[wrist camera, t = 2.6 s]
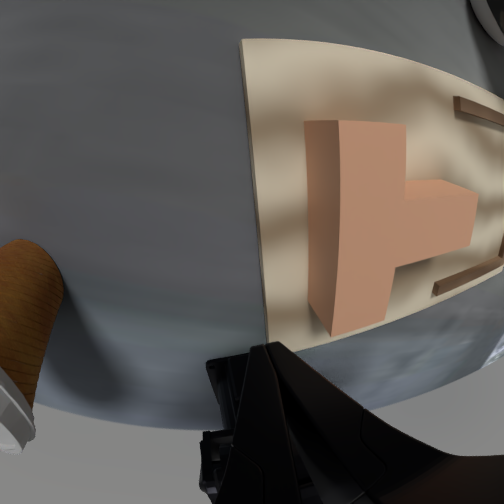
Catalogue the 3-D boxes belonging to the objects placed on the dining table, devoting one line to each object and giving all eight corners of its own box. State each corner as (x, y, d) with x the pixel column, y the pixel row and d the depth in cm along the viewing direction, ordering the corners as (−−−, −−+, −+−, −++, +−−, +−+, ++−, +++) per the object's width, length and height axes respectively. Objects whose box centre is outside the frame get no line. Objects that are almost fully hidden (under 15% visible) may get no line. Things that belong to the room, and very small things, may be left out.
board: (497, 267, 27) (505, 273, 25) (267, 349, 22) (272, 364, 20) (517, 110, 17) (527, 112, 15) (238, 44, 12) (244, 34, 10)
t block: (427, 268, 21) (457, 290, 17) (307, 300, 19) (330, 337, 16) (443, 130, 16) (482, 138, 12) (303, 120, 14) (338, 120, 10)
